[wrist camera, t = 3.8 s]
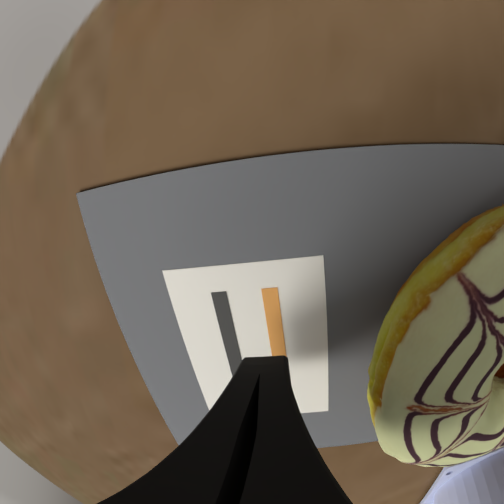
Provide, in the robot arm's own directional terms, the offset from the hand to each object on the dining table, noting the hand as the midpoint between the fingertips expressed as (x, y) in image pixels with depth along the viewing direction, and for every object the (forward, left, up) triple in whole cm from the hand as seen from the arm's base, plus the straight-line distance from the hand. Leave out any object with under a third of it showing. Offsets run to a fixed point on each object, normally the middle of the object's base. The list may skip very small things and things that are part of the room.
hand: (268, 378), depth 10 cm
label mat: (0, -4, -1) cm, 5 cm away
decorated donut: (0, -8, -1) cm, 9 cm away
